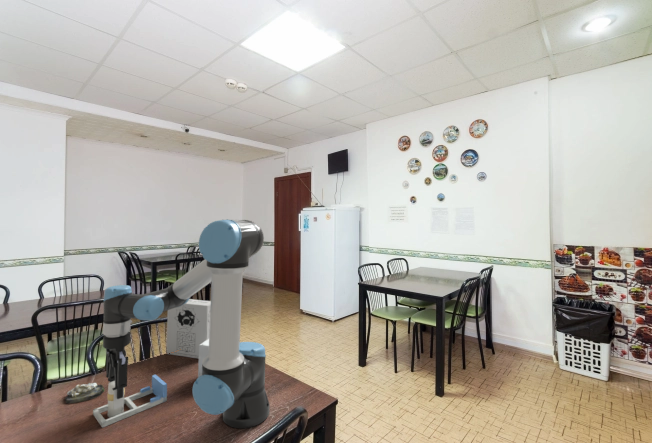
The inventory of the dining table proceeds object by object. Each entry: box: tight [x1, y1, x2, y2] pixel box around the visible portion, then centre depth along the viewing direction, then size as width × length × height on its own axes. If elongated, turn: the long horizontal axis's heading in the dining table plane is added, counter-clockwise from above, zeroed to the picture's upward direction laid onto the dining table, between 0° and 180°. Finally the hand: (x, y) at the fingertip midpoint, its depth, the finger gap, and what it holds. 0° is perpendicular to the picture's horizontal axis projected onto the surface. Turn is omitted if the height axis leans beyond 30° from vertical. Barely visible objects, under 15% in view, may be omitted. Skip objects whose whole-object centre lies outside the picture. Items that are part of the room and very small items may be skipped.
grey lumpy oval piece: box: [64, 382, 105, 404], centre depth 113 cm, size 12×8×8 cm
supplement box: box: [197, 339, 209, 378], centre depth 126 cm, size 9×9×15 cm
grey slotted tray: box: [92, 374, 168, 429], centre depth 106 cm, size 19×10×6 cm, turn 140°
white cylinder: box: [106, 381, 126, 419], centre depth 102 cm, size 5×5×10 cm
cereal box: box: [166, 298, 211, 360], centre depth 148 cm, size 22×8×25 cm, turn 76°
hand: (115, 403), depth 102 cm, fingers closed on white cylinder, 5 cm apart
